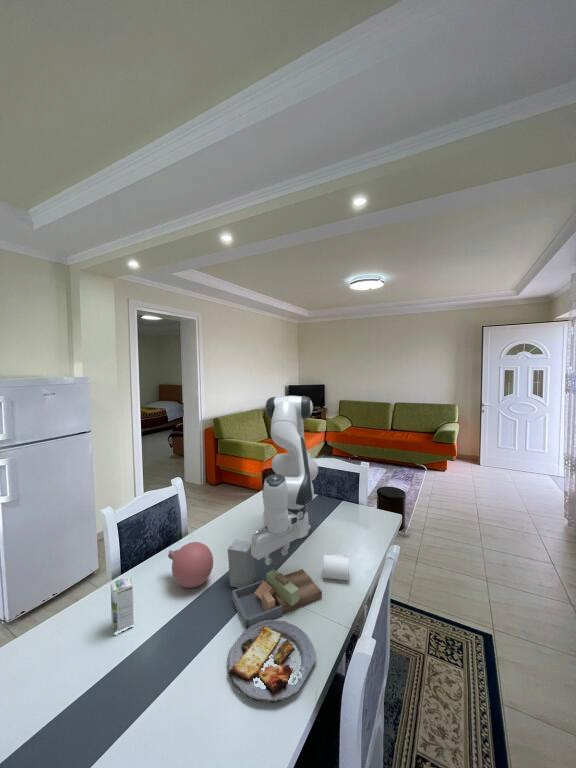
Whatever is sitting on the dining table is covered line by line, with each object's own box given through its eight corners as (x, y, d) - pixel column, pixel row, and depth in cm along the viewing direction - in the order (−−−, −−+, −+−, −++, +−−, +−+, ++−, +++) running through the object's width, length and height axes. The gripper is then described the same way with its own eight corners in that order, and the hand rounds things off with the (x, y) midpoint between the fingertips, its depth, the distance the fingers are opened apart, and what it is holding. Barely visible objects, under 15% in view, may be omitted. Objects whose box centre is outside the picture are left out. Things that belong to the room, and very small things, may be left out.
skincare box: (255, 580, 125) (255, 541, 124) (247, 592, 118) (247, 551, 117) (236, 575, 128) (236, 537, 127) (227, 587, 121) (227, 547, 120)
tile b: (268, 604, 112) (261, 606, 110) (268, 590, 111) (261, 593, 110) (274, 613, 107) (268, 616, 106) (274, 599, 107) (268, 602, 106)
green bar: (266, 584, 118) (266, 570, 118) (273, 580, 120) (273, 566, 120) (291, 606, 107) (291, 590, 107) (298, 601, 110) (298, 585, 109)
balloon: (185, 562, 136) (184, 528, 135) (221, 577, 126) (221, 540, 125) (155, 584, 122) (153, 546, 121) (193, 603, 113) (192, 561, 112)
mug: (348, 585, 122) (349, 565, 121) (322, 582, 124) (322, 562, 123) (349, 566, 134) (349, 547, 133) (325, 563, 136) (325, 545, 135)
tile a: (257, 597, 115) (254, 592, 114) (266, 584, 118) (263, 580, 117) (265, 604, 111) (262, 600, 110) (274, 591, 114) (271, 587, 113)
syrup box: (111, 624, 104) (109, 582, 103) (130, 616, 107) (129, 575, 106) (114, 636, 99) (112, 592, 98) (134, 627, 103) (133, 584, 102)
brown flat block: (265, 589, 120) (265, 581, 120) (302, 576, 127) (302, 568, 127) (282, 615, 107) (282, 606, 107) (321, 599, 115) (321, 591, 115)
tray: (232, 600, 114) (231, 590, 114) (264, 588, 120) (264, 579, 120) (246, 631, 101) (246, 620, 101) (282, 616, 107) (282, 606, 107)
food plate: (281, 728, 74) (281, 713, 74) (210, 677, 87) (209, 664, 86) (326, 649, 95) (326, 637, 95) (264, 617, 108) (264, 607, 108)
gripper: (258, 537, 103) (258, 577, 104) (302, 515, 117) (302, 551, 118) (246, 529, 107) (247, 568, 109) (290, 509, 121) (290, 544, 122)
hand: (276, 559), depth 113 cm, fingers open, 6 cm apart
